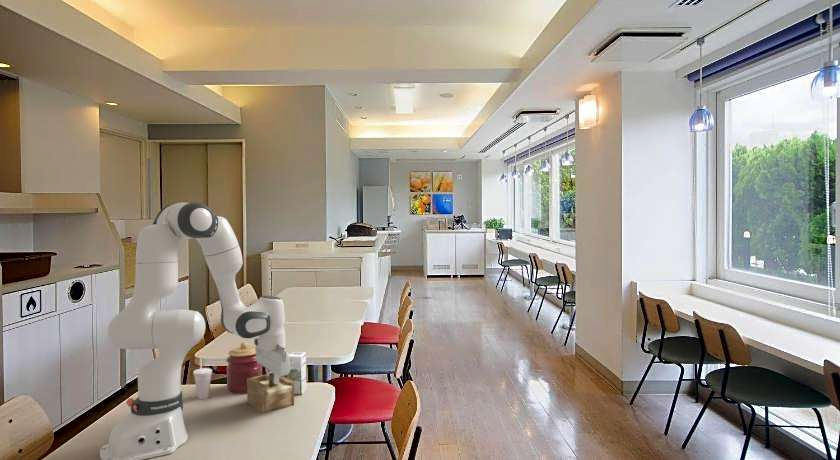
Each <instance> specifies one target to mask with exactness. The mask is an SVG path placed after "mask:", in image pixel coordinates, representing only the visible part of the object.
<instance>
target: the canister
mask: <svg viewBox="0 0 840 460" xmlns="http://www.w3.org/2000/svg"><path fill="white" fill-rule="evenodd" d="M255 347H256V345H254V346H253V345H248V343H247V342H246V341H245V342H241V343H240V346H235V347H234V348H232V349H231V350H230V351H229V352H228V355H229V356H227V358H226V360H225V361H226V362H227V367H226V378H227V379H226V380H227V382H226V388H227V391H228V392H229V393H232V394H238V395H239V394H241V395H242V394H247V379H248V378H252V377H257V376H261V375H263V366H261V365H260V364H258V363H257V360H256V351H255Z"/></svg>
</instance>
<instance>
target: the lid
mask: <svg viewBox="0 0 840 460" xmlns="http://www.w3.org/2000/svg"><path fill="white" fill-rule="evenodd" d="M273 378H274V375H273V373H269V381H268V380H266V381H262V382H260V383H262V384H264V385H265V386H267V387H268V389H266V395H268V396H273V395H277V394H281V393H285V392H289V391H293V387H292V386H290V385H288V384H286V383H284V382H283V381H281V380H279V384H273V383H272V382H273V381H272V379H273Z"/></svg>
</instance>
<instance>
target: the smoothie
mask: <svg viewBox="0 0 840 460" xmlns="http://www.w3.org/2000/svg"><path fill="white" fill-rule="evenodd" d="M202 364H203V363H202V358H200V359H199V368H198V369H197V368H196V369H195V370H193V373H192V375H193V376H194V381H195V382H194V383H195V387H196V388H195V389H196V394H197V399H200V400H205V399H207V398H209V397H210V390H211V389H210V388H211V380H212V374H213V369H212V368H210V367H209V368H207V367H204V368H203V367H202V366H203V365H202Z"/></svg>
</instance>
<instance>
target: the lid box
mask: <svg viewBox="0 0 840 460" xmlns="http://www.w3.org/2000/svg"><path fill="white" fill-rule="evenodd" d="M266 380H267V374H266V373H265V374H262V375H261V376H257V377H252V378H248V379H247V393H246V394H247V397H246V398H247V402H248V403H249V405H250V404H251V406H252V407H254V408H256V409H257V410H258V411H260V412H261V413H263V414H266V413H267V414H268V413H270V412H274V411H278V410H281V409H286V408H288V407H289V408H290V407H292V406H295V394H294V382H293V381H291V380H290V379H288V378H287V376H285V375H284V376H280V378H279V380H281V381H283V382H284V383H286V384H288V385H290V386H292V387H293V391H289V392H285V393H281V394H277V395H273V396H268V395H266V389H268V387H267V386H265V385H264V384H262V383H260V382H262V381H266Z"/></svg>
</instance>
